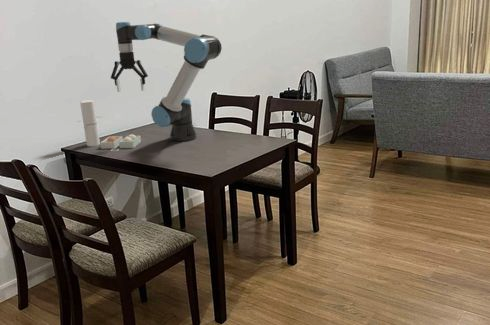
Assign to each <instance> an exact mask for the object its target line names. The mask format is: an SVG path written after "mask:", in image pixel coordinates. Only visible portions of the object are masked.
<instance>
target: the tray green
mask: <svg viewBox="0 0 490 325" xmlns="http://www.w3.org/2000/svg"><path fill="white" fill-rule="evenodd" d="M128 136H129V135H127V136H126V137H128ZM135 136H136V139H135V140H133V141H129V142H123V139H124V138H123V139H122V140H121V141H120V142H119V149H135V147H137V146H138V145H139V144H140V143H141V142H142V138H141V135H135Z"/></svg>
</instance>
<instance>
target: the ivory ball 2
mask: <svg viewBox="0 0 490 325" xmlns="http://www.w3.org/2000/svg"><path fill="white" fill-rule="evenodd" d="M127 136H128V137H130V138H131V139H132V141H133V140H135V139H136V136H137V135H135V134H128V135H127Z"/></svg>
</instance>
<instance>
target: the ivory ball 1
mask: <svg viewBox="0 0 490 325" xmlns="http://www.w3.org/2000/svg"><path fill="white" fill-rule="evenodd" d="M129 141H132V139H131V138H130V137H127V136H125V137H124V138H123V142H129Z"/></svg>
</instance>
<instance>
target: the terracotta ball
mask: <svg viewBox="0 0 490 325" xmlns="http://www.w3.org/2000/svg"><path fill="white" fill-rule="evenodd" d="M108 137H109V138H108ZM108 137H107V138H108V139H107V142H114V141H115V140H116V138H115V137H113V135H111V136H108Z"/></svg>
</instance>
